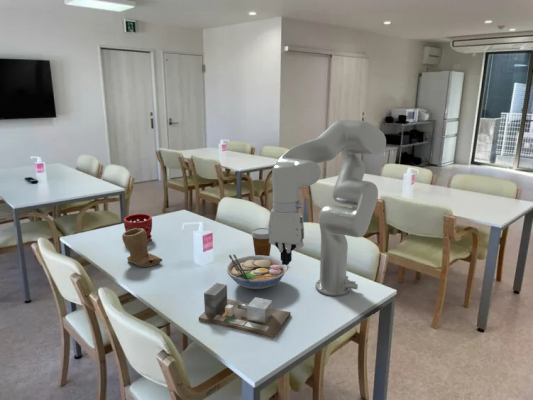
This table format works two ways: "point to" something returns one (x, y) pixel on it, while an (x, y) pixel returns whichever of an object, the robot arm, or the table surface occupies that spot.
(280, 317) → the bench
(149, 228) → the plant pot
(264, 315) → the gauge plunger
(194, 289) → the table surface
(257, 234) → the disposable coffee cup
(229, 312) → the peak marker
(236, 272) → the ramen bowl
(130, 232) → the brown boot-shaped piece
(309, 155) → the robot arm
